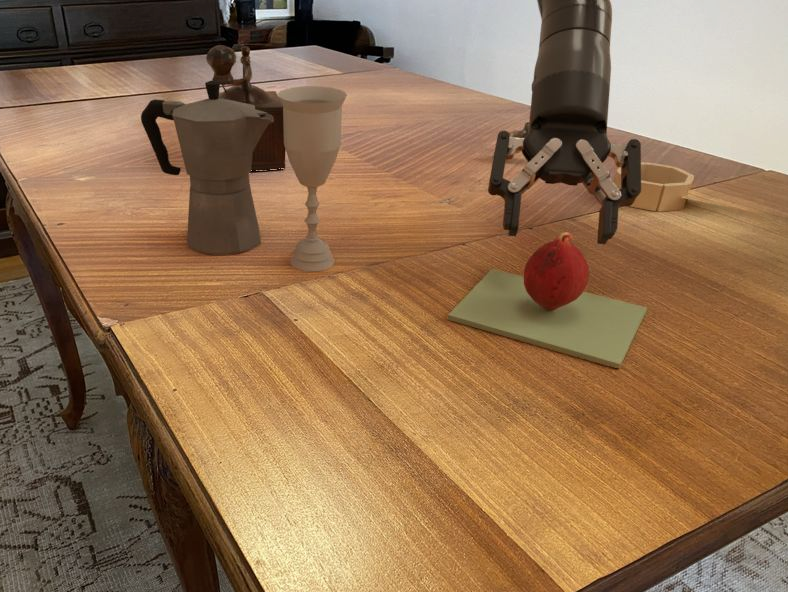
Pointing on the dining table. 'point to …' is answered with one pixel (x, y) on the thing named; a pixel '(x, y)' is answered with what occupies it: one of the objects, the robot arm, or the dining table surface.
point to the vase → (519, 133)
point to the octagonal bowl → (660, 187)
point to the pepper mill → (272, 140)
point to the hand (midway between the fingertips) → (558, 237)
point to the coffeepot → (213, 167)
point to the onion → (556, 273)
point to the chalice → (312, 158)
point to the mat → (552, 319)
